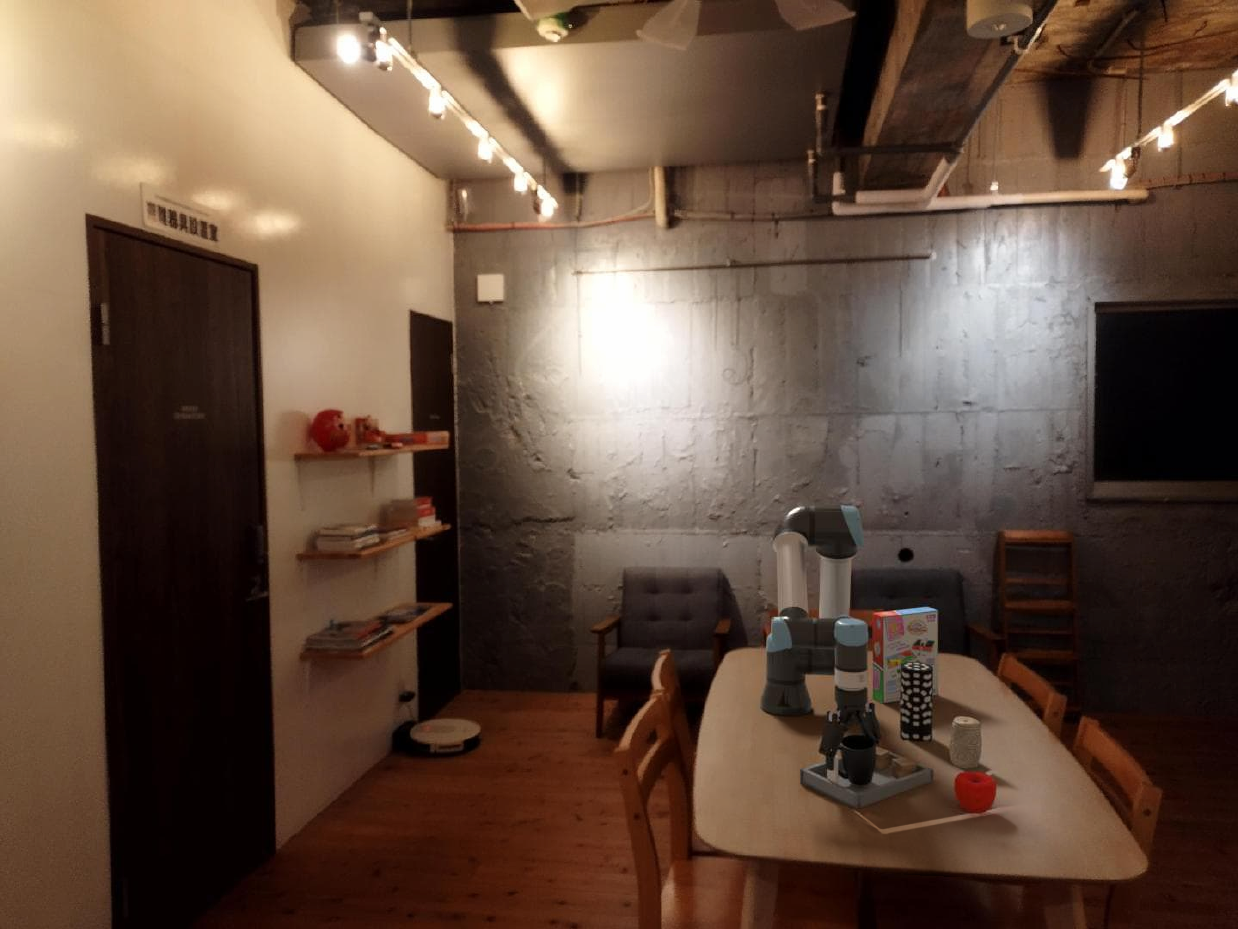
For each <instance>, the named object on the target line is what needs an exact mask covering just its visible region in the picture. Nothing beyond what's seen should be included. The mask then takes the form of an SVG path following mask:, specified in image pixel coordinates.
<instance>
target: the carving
mask: <svg viewBox="0 0 1238 929" xmlns="http://www.w3.org/2000/svg"><path fill="white" fill-rule="evenodd" d="M982 746H983V738H982V726H981V723H980V721H978V720H977V719H975V718H973V717H969V716H963V715H962V716H956V717H954V719H953V721H952V724H951V730H950V740H949V757H950V762H951V763H952V764H953V765H954V766H956V767H958V768H962V769H975V768H977V767H979V763H980V759H981V757H982V756H981V755H982V751H983V750H982Z"/></svg>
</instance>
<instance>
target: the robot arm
mask: <svg viewBox="0 0 1238 929" xmlns="http://www.w3.org/2000/svg"><path fill="white" fill-rule="evenodd" d="M773 530H774V531H773V535H772V548H773V551H774V552H775V553H776V569H777V570H776V572H777V574H776V575H777V576H776V577H777V581H776V582H777V612H778V614H777V615H778V616H773V617H772V618H771V622H770V624H771V625H770V626H771V629H770V633H769V634H768V635H767V637H766V644H765V645H766V646H765V652H766V659H765V660H766V663H765V664H766V668H765V670H766V672H765V673H766V674H765V675H766V676H765V678H766V679H765V684H764V687H763V692H762V695H761V697H760V708H761V709H762V710H763V711H765V712H767V713H769V714H773V715H777V716H786V717H791V716H801V715H805V714H808V713H809V712H811V711H812V700H811V697H810V694H809V690H808V687H807V683H806V675H808V676H809V675H810V676H834V684H835V686H834V701H835V703H836V704H837V707H836V709H835V711H830V710H828V711H827V712H826V720H825V721H826V722H825V726H824V727H823V728H824V730H823V733H822V737H821V741H820V744H819V748H818V753H819V754H820V755H823V756H826V757H825V761H826V769H827V779H828V780H830V781H832V782H834V783H837V784H838V757H839V756H838V755H837V753H838V751H839V750H838V748H839V746H840V744H841V742H842V739H843V737H844V736H846V732H848V731H849V730H850V728H852V727H853V726H857V728H858V730H859V731H860V733H861V734H862V735H867V736H869V737H871V738H873V739H874V740H875V742H876V746H879V744H880V740H882V739H883V736H882V733H881V732H882V731H881V729H880V726H879V722H878V719H877V714H876V704H875V703H874V702H871V701H868V699H869V698H868V697H869V696H868V695H869V694H868V693H869V691H868V690H869V689H868V688H867V686H868V658H869V656H868V652H869V651H868V650H869V648H868V647H869V646H868V645H869V643H868V642H869V631H868V624H867V622H865V621H864V620H862V619H859V618H854V617H852V616H851V615H850V608H851V605H850V604H851V579H852V578H851V577H852V559H853V558H855V557H856V556H857V555H858V551H859V550H858V549H861V548H864V541H865V540H864V534H863V525H862V519H861V514H860V511H859V509H858V508H857V507H856V506H854V505H853V506H852V505H843V504H841V505H799V506H796V507H794V508H792V509H791V510H789V511H788V512H787V513H785V514H784V515H783V516H782V517H781V518H780V519H779V521H778V522H777V524H776V526H775V528H774V529H773ZM808 547H809V548H815V550H814V551H815V553H816V554H817V555H818V556H820V566H819V567H820V569H819V570H820V572H819V609H818V611H819V612H818V616H819V617H809V601H808V582H807V581H808V580H807V570H806V569H807V568H806V552H807V550H808Z"/></svg>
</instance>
